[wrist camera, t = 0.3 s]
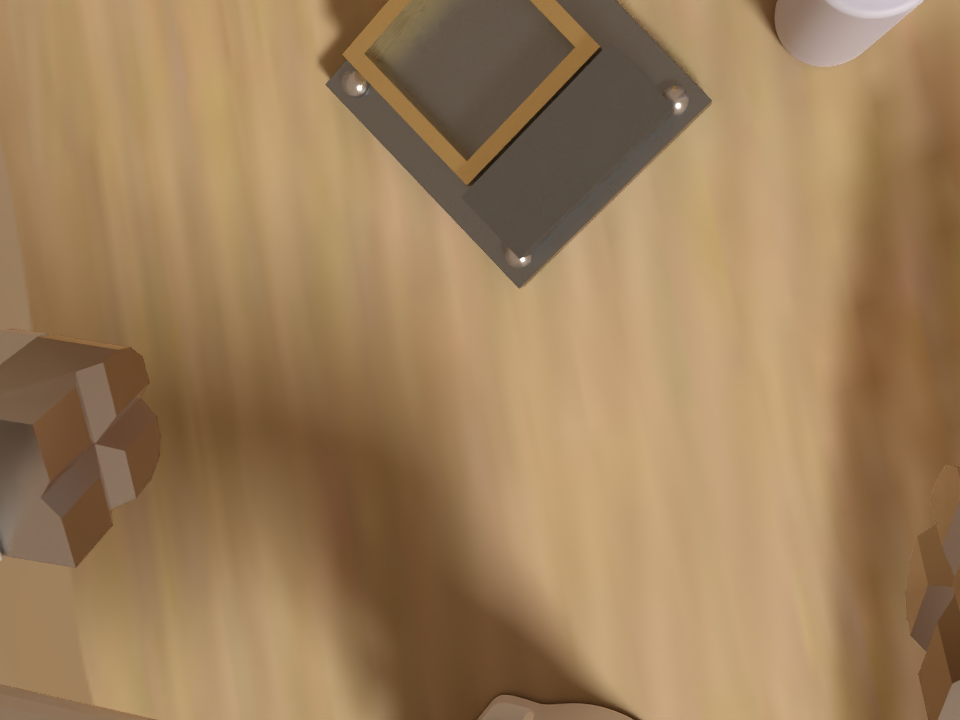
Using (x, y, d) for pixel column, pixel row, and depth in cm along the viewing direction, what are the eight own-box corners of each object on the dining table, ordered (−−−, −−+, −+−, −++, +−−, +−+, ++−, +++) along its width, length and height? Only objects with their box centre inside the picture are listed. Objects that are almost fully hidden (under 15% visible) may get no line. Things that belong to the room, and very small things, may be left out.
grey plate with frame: (524, 285, 60) (507, 294, 54) (336, 88, 61) (299, 76, 55) (711, 103, 56) (713, 92, 50) (507, -108, 56) (486, -143, 51)
